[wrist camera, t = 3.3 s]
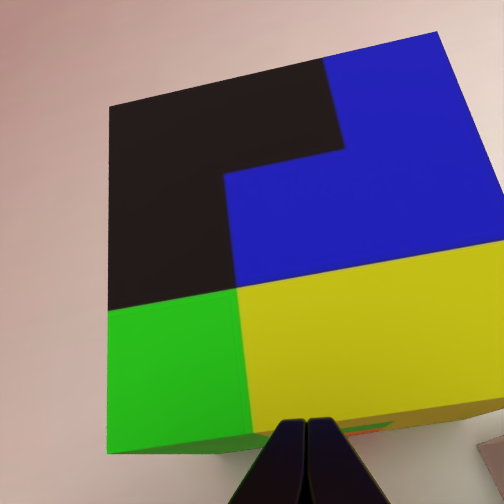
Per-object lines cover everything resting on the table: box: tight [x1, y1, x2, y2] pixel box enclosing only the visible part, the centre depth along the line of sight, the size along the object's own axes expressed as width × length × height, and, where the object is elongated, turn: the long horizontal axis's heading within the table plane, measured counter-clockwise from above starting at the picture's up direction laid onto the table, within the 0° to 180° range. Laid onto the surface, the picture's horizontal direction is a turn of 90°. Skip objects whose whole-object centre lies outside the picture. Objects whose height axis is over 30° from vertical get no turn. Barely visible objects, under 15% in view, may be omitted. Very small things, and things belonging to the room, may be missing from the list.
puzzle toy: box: [107, 31, 504, 454], centre depth 16 cm, size 10×10×10 cm
